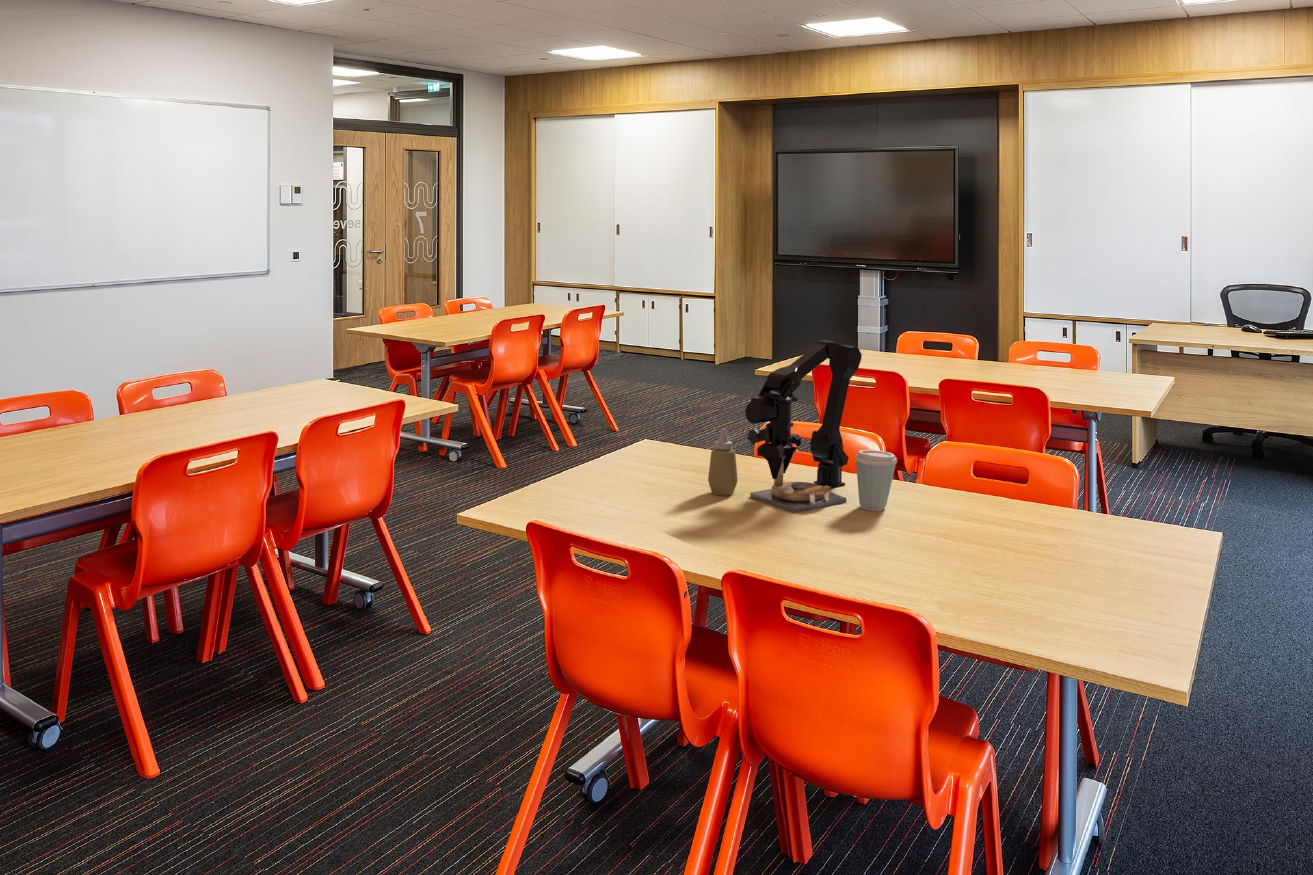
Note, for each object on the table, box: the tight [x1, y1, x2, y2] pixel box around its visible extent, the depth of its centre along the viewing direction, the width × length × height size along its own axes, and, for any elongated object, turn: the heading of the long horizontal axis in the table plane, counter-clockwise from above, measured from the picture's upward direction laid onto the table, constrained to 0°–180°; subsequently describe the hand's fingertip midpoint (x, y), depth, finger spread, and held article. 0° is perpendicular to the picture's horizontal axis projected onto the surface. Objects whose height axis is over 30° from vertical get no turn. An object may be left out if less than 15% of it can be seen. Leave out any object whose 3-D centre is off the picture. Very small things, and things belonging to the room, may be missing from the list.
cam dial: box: [771, 463, 824, 501], centre depth 272 cm, size 14×14×8 cm
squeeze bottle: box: [707, 428, 739, 497], centre depth 277 cm, size 8×8×18 cm
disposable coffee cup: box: [854, 449, 898, 512], centre depth 264 cm, size 11×11×15 cm
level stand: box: [749, 486, 847, 513], centre depth 273 cm, size 18×18×5 cm
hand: (778, 476), depth 275 cm, fingers open, 6 cm apart
